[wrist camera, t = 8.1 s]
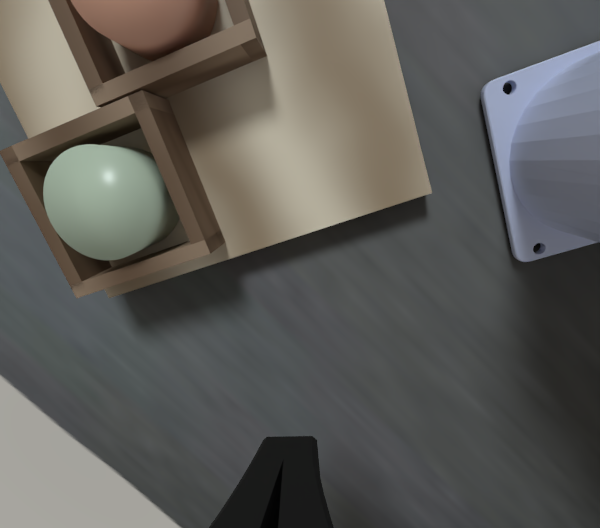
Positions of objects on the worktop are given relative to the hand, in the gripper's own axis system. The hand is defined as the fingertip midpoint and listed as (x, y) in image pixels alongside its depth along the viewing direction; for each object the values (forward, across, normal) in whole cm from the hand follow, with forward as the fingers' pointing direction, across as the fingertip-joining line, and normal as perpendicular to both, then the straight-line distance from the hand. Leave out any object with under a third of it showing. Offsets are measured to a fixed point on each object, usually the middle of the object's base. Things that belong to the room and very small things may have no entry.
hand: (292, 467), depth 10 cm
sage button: (+8, +7, -7) cm, 13 cm away
